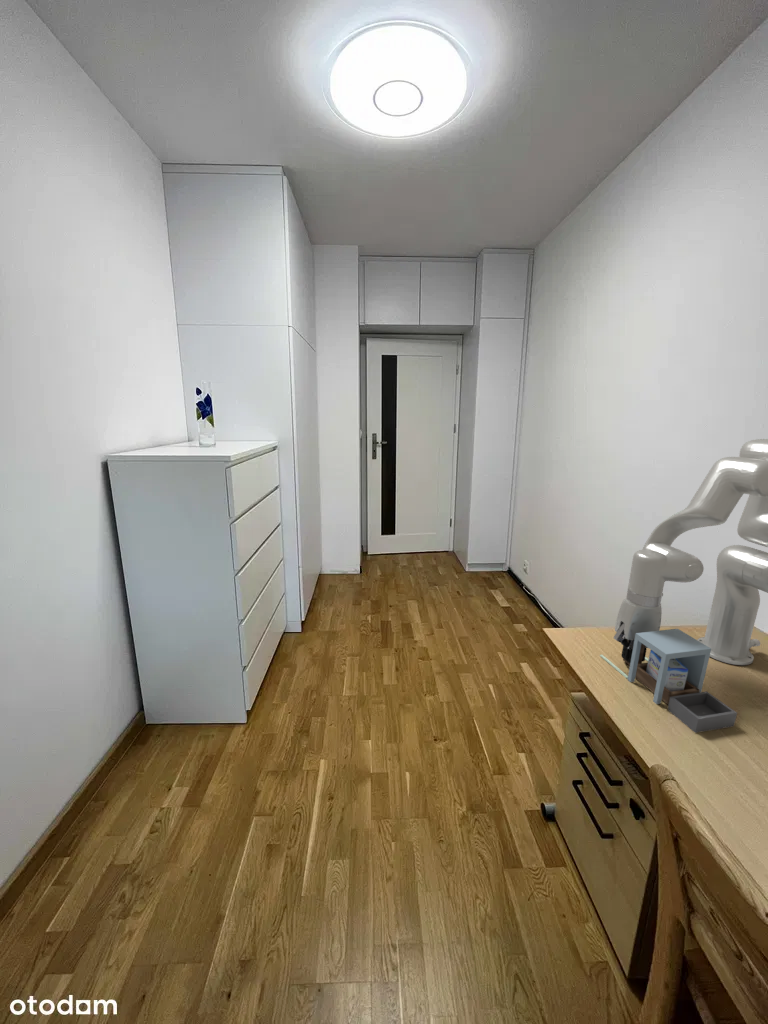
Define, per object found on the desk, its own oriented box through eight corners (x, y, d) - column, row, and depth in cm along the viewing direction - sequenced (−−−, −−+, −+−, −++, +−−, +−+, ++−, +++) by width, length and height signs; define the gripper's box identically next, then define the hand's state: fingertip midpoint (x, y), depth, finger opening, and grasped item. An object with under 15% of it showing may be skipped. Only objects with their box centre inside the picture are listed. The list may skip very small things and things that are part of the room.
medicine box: (644, 678, 105) (649, 648, 102) (661, 678, 104) (667, 648, 102) (663, 699, 97) (669, 668, 95) (682, 699, 97) (689, 668, 95)
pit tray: (703, 704, 95) (706, 691, 95) (733, 726, 89) (737, 712, 88) (667, 709, 94) (670, 696, 93) (695, 732, 87) (698, 719, 86)
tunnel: (668, 674, 106) (677, 628, 103) (699, 697, 98) (711, 648, 94) (627, 679, 104) (635, 633, 101) (656, 704, 95) (666, 654, 92)
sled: (640, 658, 112) (644, 632, 110) (697, 700, 96) (704, 671, 94) (615, 661, 111) (619, 635, 109) (668, 705, 94) (675, 675, 92)
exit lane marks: (636, 651, 116) (636, 650, 116) (666, 673, 107) (666, 672, 106) (599, 655, 114) (599, 654, 114) (626, 678, 104) (626, 677, 104)
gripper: (658, 588, 110) (647, 648, 115) (605, 593, 107) (596, 654, 112) (683, 601, 103) (670, 664, 108) (626, 606, 100) (616, 671, 105)
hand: (632, 658), depth 110 cm, fingers closed on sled, 3 cm apart
